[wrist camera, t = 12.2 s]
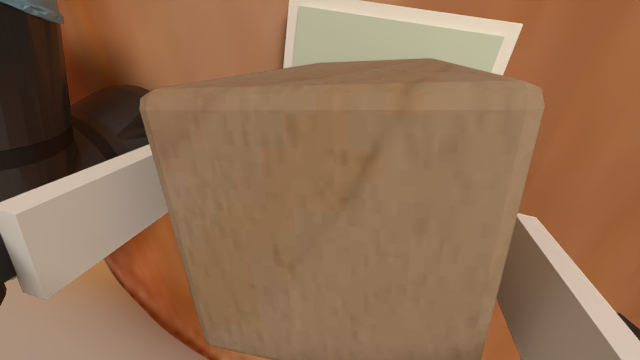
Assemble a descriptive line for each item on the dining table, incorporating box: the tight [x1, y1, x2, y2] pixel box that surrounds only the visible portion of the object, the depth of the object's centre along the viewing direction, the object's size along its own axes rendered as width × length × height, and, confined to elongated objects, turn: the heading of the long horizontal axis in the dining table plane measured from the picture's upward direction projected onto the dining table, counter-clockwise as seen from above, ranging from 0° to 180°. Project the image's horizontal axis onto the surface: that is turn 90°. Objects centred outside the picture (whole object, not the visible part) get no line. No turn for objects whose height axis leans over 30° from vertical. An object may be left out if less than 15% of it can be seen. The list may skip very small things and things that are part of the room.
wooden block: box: [140, 58, 545, 360], centre depth 17 cm, size 10×10×20 cm
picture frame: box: [283, 0, 523, 76], centre depth 28 cm, size 18×18×4 cm
